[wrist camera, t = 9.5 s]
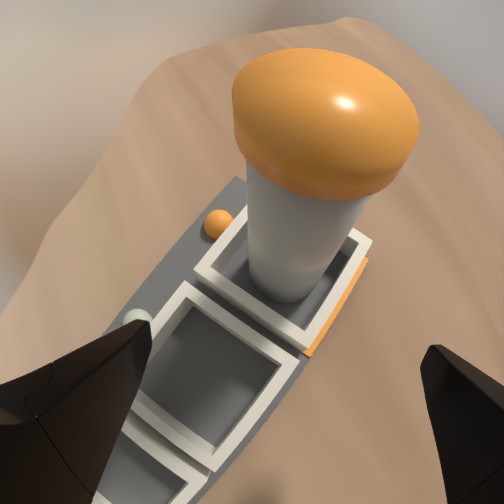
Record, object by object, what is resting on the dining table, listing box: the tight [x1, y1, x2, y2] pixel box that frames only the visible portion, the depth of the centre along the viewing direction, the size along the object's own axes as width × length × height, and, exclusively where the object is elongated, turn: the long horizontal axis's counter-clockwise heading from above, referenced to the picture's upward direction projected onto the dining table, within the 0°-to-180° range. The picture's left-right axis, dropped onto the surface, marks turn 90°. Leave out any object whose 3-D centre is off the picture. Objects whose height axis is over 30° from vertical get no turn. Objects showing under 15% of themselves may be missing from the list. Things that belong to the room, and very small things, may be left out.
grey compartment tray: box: [91, 176, 372, 504], centre depth 15 cm, size 22×10×3 cm, turn 145°
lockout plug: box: [232, 48, 419, 303], centre depth 12 cm, size 5×5×12 cm
